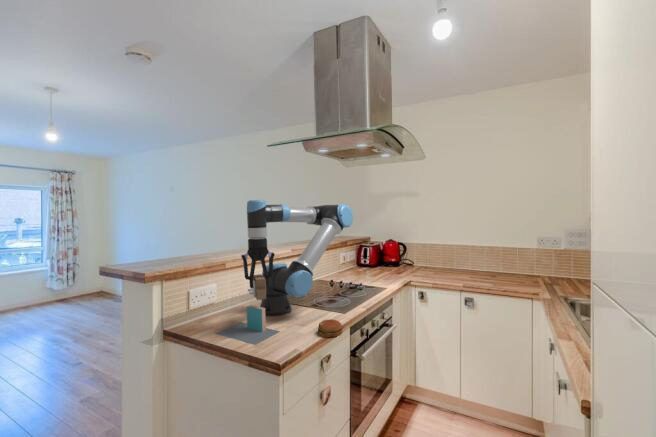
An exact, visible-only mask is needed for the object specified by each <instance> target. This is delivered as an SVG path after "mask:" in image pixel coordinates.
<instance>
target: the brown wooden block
mask: <svg viewBox="0 0 656 437" xmlns="http://www.w3.org/2000/svg"><path fill="white" fill-rule="evenodd" d="M253 279H254V280H255V296H256V297H255V299H256V300H257V301H262V299H266V280H265V278H264V277H263V276H262V273H260V274H259V273H257V274H254V278H253ZM247 292H248V293H249V295H253V288H247Z"/></svg>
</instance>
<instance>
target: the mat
mask: <svg viewBox="0 0 656 437" xmlns="http://www.w3.org/2000/svg"><path fill="white" fill-rule="evenodd" d="M280 332H281V331H280V330H275V329H272V328H267V327H266V330H265V331H263V332H260V331H256V330H251V329H247V323H246V322H241V321H240V322H237V323H235V324H232V325H230V326H228V327H225V328H223V329H221V330H219V331H217V332H214V334H215V335H218V336H222V337H225V338H229V339H232V340H237V341H241V342H244V343H247V344H251V345H258V344H260V343H262V342H264V341H266V340H268V339H269V338H272V337H273V336H275V335H276V334H279V333H280Z"/></svg>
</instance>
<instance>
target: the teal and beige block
mask: <svg viewBox="0 0 656 437" xmlns="http://www.w3.org/2000/svg"><path fill="white" fill-rule="evenodd" d="M246 322H247V329H251V330H256V331H260V332H263V331H265V330H266V328H267V326H266V324H267V323H266V322H267V321H266V316H265V308H262V307H260V306H258V305H257V306H256V305H252V304H251V305H248V306H246Z"/></svg>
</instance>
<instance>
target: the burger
mask: <svg viewBox="0 0 656 437" xmlns="http://www.w3.org/2000/svg"><path fill="white" fill-rule="evenodd" d="M317 331H318V335H319V336H320V337H323V338H331V337H332V338H333V337H334V338H335V337H340V336H341V335H342V334H343V325H342V322H340V321H339V320H338V319H324V320H322V321H320V322H319V323H318V327H317Z"/></svg>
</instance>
